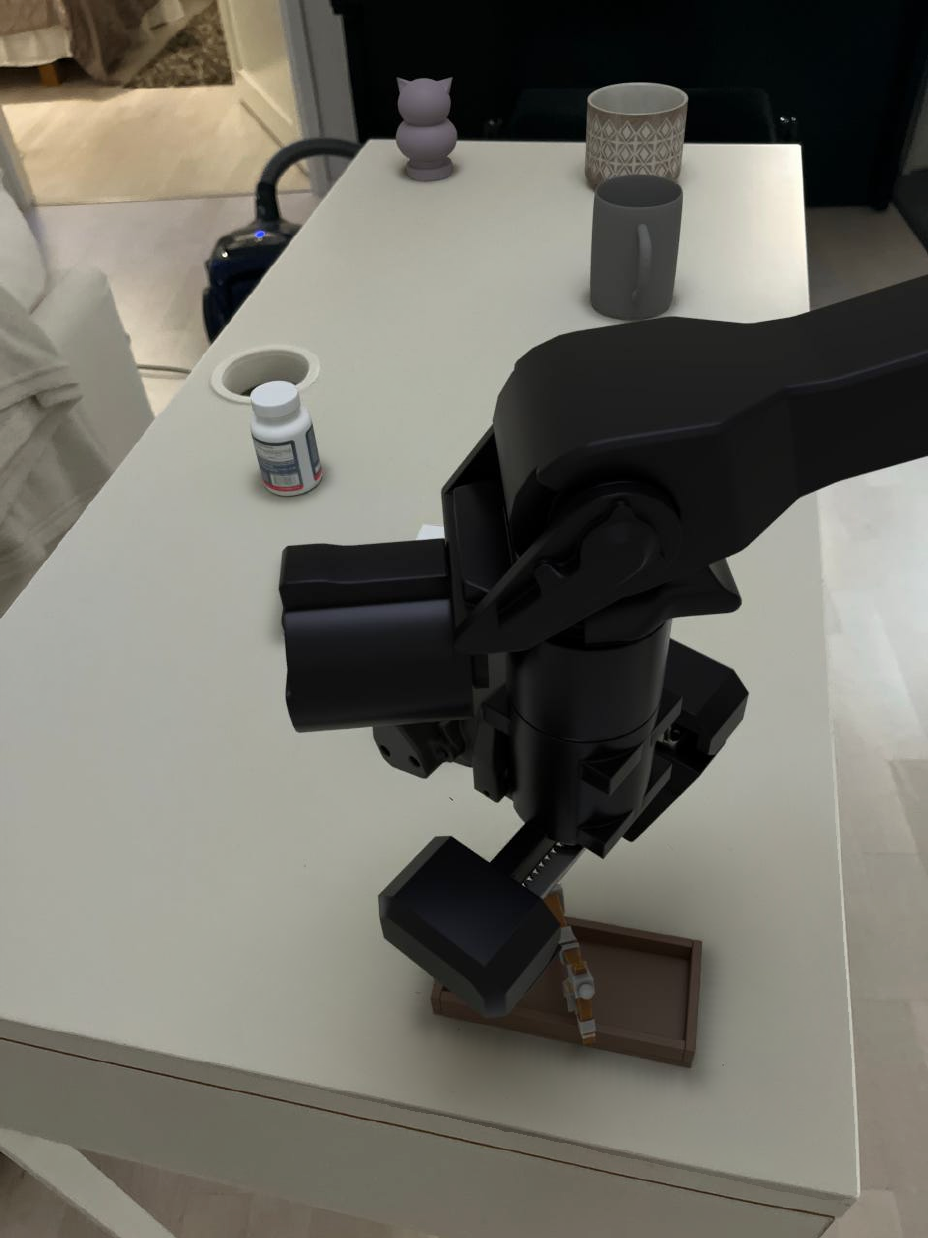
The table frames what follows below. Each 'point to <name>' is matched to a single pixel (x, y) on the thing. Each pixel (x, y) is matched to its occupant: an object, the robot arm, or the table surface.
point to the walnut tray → (611, 994)
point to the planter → (635, 131)
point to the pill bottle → (284, 439)
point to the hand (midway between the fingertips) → (571, 900)
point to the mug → (635, 245)
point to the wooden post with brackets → (574, 970)
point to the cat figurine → (426, 128)
